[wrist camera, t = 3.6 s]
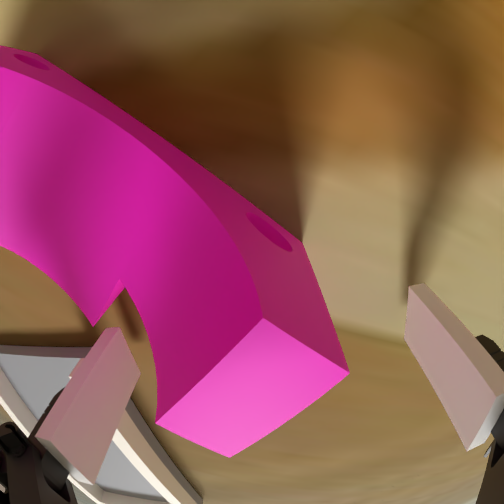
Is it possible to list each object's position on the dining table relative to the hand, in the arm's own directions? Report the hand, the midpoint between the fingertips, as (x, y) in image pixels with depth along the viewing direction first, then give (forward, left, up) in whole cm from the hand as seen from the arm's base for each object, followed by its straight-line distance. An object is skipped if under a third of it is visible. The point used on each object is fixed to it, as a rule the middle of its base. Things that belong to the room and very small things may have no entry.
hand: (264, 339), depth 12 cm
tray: (+10, -14, -1) cm, 17 cm away
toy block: (-7, -5, -2) cm, 9 cm away
